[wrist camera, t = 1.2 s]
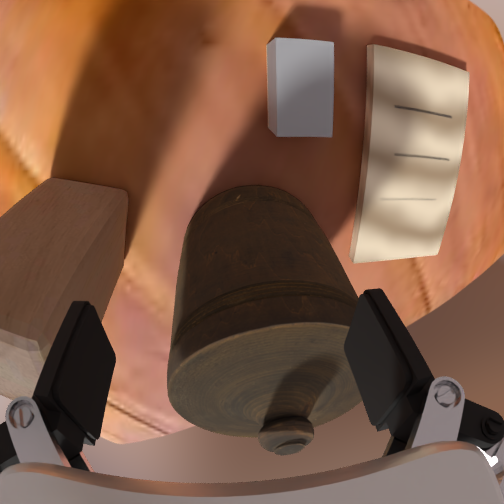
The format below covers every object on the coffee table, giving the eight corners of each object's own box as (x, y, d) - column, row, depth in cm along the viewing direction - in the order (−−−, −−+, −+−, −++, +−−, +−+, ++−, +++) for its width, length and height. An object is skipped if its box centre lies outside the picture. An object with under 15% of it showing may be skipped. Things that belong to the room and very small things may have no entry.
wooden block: (49, 173, 25) (-78, 292, 8) (132, 187, 28) (39, 344, 11) (51, 251, 30) (-27, 385, 13) (125, 267, 32) (74, 426, 16)
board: (366, 45, 22) (373, 44, 20) (461, 71, 22) (469, 72, 21) (348, 256, 35) (353, 263, 33) (431, 248, 35) (437, 254, 34)
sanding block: (266, 45, 22) (275, 37, 17) (314, 47, 22) (333, 42, 18) (267, 127, 26) (277, 136, 22) (314, 127, 26) (332, 137, 22)
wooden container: (265, 315, 38) (295, 481, 20) (161, 266, 33) (125, 459, 14) (343, 231, 33) (446, 399, 14) (234, 155, 27) (268, 345, 9)
